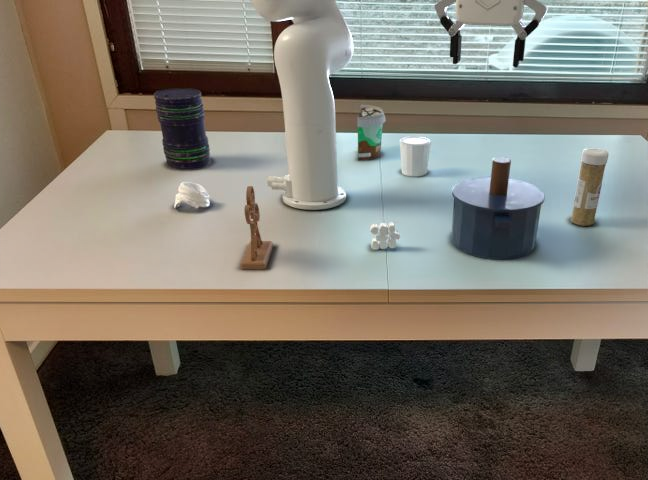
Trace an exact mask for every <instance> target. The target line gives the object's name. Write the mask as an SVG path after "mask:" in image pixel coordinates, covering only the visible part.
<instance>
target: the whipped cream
mask: <svg viewBox="0 0 648 480" xmlns="http://www.w3.org/2000/svg"><path fill="white" fill-rule="evenodd" d="M177 190H178V193H176V194H175V202H174V204H173V207H174V209H175V210H177V209H178V207H180V206H181V204H182V203H184V204H187V205H189V206H191V207H193V208H194V209H199V208H200V207H201V208H207V207H209V206H210V204H211V203H210V194H209V193H208V191H207V190H206V189H205V187H204V186H202V185H201V184H199V183H195V182H192V181H182V182H180V184H179V185H178V188H177Z"/></svg>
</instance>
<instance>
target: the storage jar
mask: <svg viewBox="0 0 648 480" xmlns="http://www.w3.org/2000/svg"><path fill="white" fill-rule="evenodd" d="M153 99H154V100H155V101H154V102H155V112H156V114H157V121H158V122H159V124H160V129H161V134H162V140H161V142H162V146H163V149H162V150H163V154H164V157H165V159H166V163H165V164H166V166H167V167H168V168H169V169H173V170H178V171H192V170H198V169H202V168H206V167H208V166H209V165H211V163H212V159H211V157H210V156H211V152H210V150H211V148H210V145H209V137H208V136H207V132H206V126H205V120H206V117H205V116H206V115H205V112H204V111H205V108H204V107H205V106H204V103H203V99H202V91H201V90H200V89H199V90H198V89H196V88H187V87H174V88H173V87H172V88H167V89H166V88H165V89H161V90H160V89H159V90H157V91H155V92H154V93H153Z"/></svg>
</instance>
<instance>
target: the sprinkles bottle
mask: <svg viewBox="0 0 648 480" xmlns="http://www.w3.org/2000/svg"><path fill="white" fill-rule="evenodd" d="M609 154H610V153H609V152H608V151H607V150H605V149H604V148H603V149H602V148H597V147H589V148H584V149H583V150H582V153H581V157H580V168H579V174H578V177H577V184H576V189H575V195H574V200H573V208H572V214H571V217H570V221H571V222H572V224H574V225H577V226H580V227H589V226H592V225H594V224H595V223H596V222H595V221H596V214H597V208H598V207H599V200H600V197H601V196H600V195H601V190H602V185H603V180H604V179H603V178H604V174H605V169H606V165H607V163H608V160H609Z"/></svg>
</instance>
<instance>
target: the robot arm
mask: <svg viewBox="0 0 648 480" xmlns="http://www.w3.org/2000/svg"><path fill="white" fill-rule="evenodd" d="M250 3H251V5H252V6H253V7H254V8H253V9H255V11H256V12H257V14H258V15H259V16H261V18H262V19H264V20H266V21H268V22H282V21H289V20H291V21H292V23H293V24H290V25H289V26H287V27H286V28H284V29H283V30H282V31H281V33H280V34H279V35H278V37H277V39H276V41H275V44H274V48H273V49H274V50H273V58H274V65H275V69H276V74H277V77H278V83H279V86H280V92H281V99H282V108H283V119H284V120H283V121H284V131H285V132H284V133H285V134H284V135H285V144H286V158H287V159H286V160H287V170H288V173H287V175H283V176H281V177H279V176H267V187H271V190H274V191H280V190H282V201H283V203H284V204H286V205H287V206H289V207H291V208H295V209H299V210H307V211H318V210H320V211H321V210H327V209H331V208H336V207H337V206H340V205H342V204H343V203H344V202H345V201H346V199H347V192H346V190H344V188H342V187H341V186H339V184H338V183H339V182H338V157H337V156H338V155H337V152H338V151H337V127H336V126H337V125H336V121H337V120H336V105H335V98H334V93H333V90H332V87H331V83H330V79H329V78H330V77H329V76H330V75H333V74H336V73H338V72H340V71H342V70H343V69H344V68H346V67H347V66H348V65H349V63H350V62H351V60H352V57H353V53H354V41H353V37H352V33H351V30H350V28H349V26H348V24H347V22H346V20H345V18H344V15H343V13H342V11H341V10H340V8H339V6H338V4H337V1H336V0H250ZM453 4H455V11H454V13H455V22H454V21H453V20H452V19H451V18H450V16H449V15H448V12H447V8H449V7H450V6H452V5H453ZM525 6H527V8H529V9H530V10H532V11H534V13H535V14H534V17H533V18H532V20H531V21H530V22H529V23H528V24H527V25H525V23H524V22H523V20H522V18H523V15H524V9H525ZM434 10H435V12H436V14H437V17H438V19H439V23H440V25H441V26H442V27H443V28H444V29H445V30H446V32H447V34H448V36H450V41H449V42H450V43H449V45H450V46H449V58H452V64H453V65H458V64H459V63H460V62H461V58H462V39H463V36H462V33H461V30H462V28H463V27H465V25H471V26H491V27H493V26H494V27H512V28H513V30H514V32H515V33H516V39H515V40H514V48H513V56H512V57H513V59H512V67H513V68H518V67H519V65H520V62H524V59H525V51H526V50H525V49H526V41H527V40H526V39H527V38H528V37H529V36H530V35H531V34H532V33H533V32H534V31H535V30H536V29H537V28H539V25H540V24H541V22H542V20H543V19H544V17H545V15H546V13H547V11H548V7H547V6H546V5H545V4H544V3H542V2H540V1H539V0H440V1H438V2H436V3H434Z"/></svg>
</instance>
